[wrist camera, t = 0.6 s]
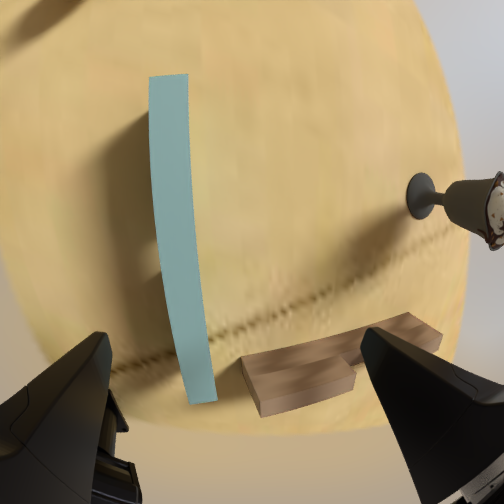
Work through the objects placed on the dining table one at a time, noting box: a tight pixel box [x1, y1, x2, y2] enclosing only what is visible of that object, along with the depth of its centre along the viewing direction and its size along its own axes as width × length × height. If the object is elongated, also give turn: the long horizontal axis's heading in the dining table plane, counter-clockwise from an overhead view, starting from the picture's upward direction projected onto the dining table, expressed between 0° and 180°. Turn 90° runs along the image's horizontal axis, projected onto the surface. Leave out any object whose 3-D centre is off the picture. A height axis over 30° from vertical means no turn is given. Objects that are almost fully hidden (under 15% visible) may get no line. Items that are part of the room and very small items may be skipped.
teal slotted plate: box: [149, 74, 218, 404], centre depth 17 cm, size 20×2×6 cm, turn 4°
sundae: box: [407, 171, 504, 251], centre depth 18 cm, size 7×7×15 cm
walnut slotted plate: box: [241, 312, 443, 418], centre depth 24 cm, size 20×2×6 cm, turn 93°
